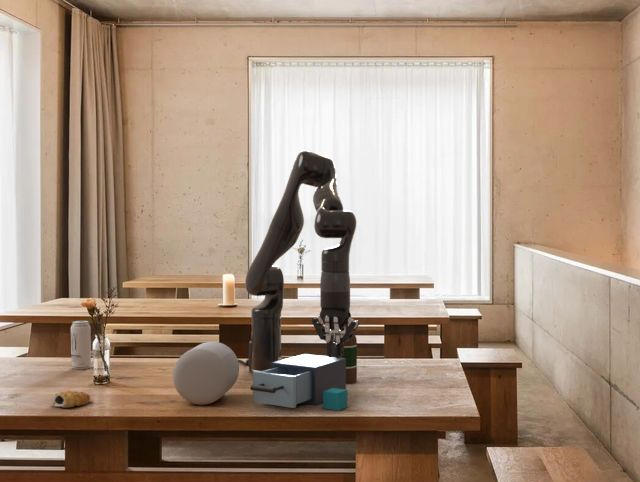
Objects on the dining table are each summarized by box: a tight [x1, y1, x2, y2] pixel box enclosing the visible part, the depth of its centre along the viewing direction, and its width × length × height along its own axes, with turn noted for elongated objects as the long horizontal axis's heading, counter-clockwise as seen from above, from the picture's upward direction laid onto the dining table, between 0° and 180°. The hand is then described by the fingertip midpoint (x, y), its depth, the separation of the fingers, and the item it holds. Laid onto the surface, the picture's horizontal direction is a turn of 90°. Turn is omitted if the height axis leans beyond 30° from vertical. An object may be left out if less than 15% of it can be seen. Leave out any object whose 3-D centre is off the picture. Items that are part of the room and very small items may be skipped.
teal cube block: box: [322, 388, 348, 411], centre depth 211 cm, size 4×4×4 cm
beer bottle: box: [334, 309, 358, 385], centre depth 243 cm, size 8×8×24 cm
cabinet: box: [272, 353, 347, 405], centre depth 224 cm, size 16×14×10 cm
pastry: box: [51, 390, 91, 409], centre depth 214 cm, size 9×7×4 cm
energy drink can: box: [70, 320, 92, 371], centre depth 264 cm, size 6×6×15 cm
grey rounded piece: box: [159, 341, 240, 406], centre depth 223 cm, size 19×15×25 cm
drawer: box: [249, 367, 313, 409], centre depth 214 cm, size 20×13×8 cm, turn 149°
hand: (335, 357), depth 210 cm, fingers closed
